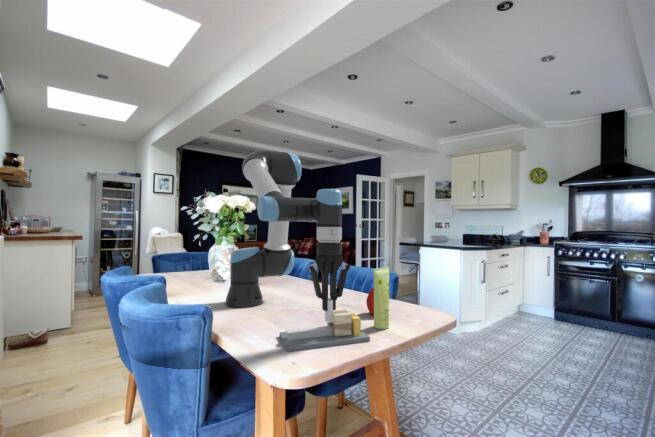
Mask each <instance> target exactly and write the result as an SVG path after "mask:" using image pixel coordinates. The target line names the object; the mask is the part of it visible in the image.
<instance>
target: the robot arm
mask: <svg viewBox="0 0 655 437" xmlns="http://www.w3.org/2000/svg"><path fill="white" fill-rule="evenodd" d="M241 165H242V167H241V170H242V174H243V175H244V177H245V179H246V180H247V181H249V182H250V183H251V186H252V188H253V189H254V191H255V194H256V196H257V197H258V200H257V207H256V208H257V211H256V212H257V216H258V219H259V220H260V221H263V222H268V229H267V230H268V232H267V242H266V243H264V244H263V250H262V249H260V247H258V246H253V247H252V246H251V247H250V246H249V247H243V248H238V249H235V250H232V252H231V253H230V259H229V260H230V261H229V263H230V271H229V272H230V278H229V279H230V281H229V282H230V284H229V289H228V292H227V294H226V297H225V306H227V307H230V308H240V309H241V308H251V307H255V306H256V307H257V306H260V305H262V304H263V302H264V301H263V299H264V298H263V294H262V291H261V287H260V284H259V283H260V282H259V279H260V278H268V277H269V278H270V277H282V276H287V275H289V274H291V272H292V271H293V269H294V264H295V253H294V251H293V249H291V245H289V243H288V238H289V225H290V222H296V223H297V222H300V223H301V222H304V223H305V222H306V223H307V222H308V223H316V240H317V242H316V256H315V259H314V262H313V263H312V264H308V265H307V269H308V271H309V272H310V275H311V276H310V277H311V279H312V285H313V287H314V292H315V296H316V298H318V299H320V300H321V309H322V310H323V312H325V313H324V316H325V317H324V322H326V323H333V310H335V309H337V306H336V305H337V300H338V298H341V297H343V293H344V289H345V284H346V279H347V274H348V271H349V270H350V268H351V265H350V264H348V263H346V262H345V261H344V259H343V256H342V254H343V251H342V250H343V247H342V246H343V243H342V242H341V241H342V240H343V235H342V234H343V228H342V226H343V200H342V199H343V198H342V197H343V196H342V191H341V190H340V189H336V188H322V189H318V190H317V192H316V197H315V198H309V197H305V198H304V197H292V189H293V188H294V187H296V183H297V182H299V181H301V176H302V163H301V160H300V158H299V157H298V155H297V154H295V153H291V152H282V151H275V150H273V151H272V150H266V149H265V150H264V149H260V150H259V149H258V150H255V151H252V152H250V153H249V154H248V155H247V156H246V157H245V158H244V159H243V162H242V164H241ZM318 269H319V270H320V272H321V273H320V274H321V285H320V280H319V275H318V272H317V270H318ZM339 269H340V270H339ZM338 271H340V272H339V275H338ZM337 276H338V281H337Z"/></svg>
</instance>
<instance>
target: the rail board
mask: <svg viewBox="0 0 655 437" xmlns="http://www.w3.org/2000/svg"><path fill="white" fill-rule="evenodd" d="M347 311H348V312H349V313H351V335H346V336H338V337H335V336H334V335H333V325H332V326H327V325H325V326H314V327H307V328H297V329H288V330H287V329H286V330H285V331H281V332H279V338H280V340H281V342H282V344H283V346H284V348H285V349H286V351H287V353H288V352H297V351H304V350H312V349H321V348H327V347H335V346H342V345H343V346H344V345H350V344H357V343H358V344H359V343H360V344H361V343H366V342H370V341H371V337H370V335H368V334H366V332H365V331H363V330H361V329H362V326H361V322H362V320H361V317H359V316H358V315H356V314H355V313H354V312H352V311H351V310H347Z"/></svg>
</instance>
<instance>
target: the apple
mask: <svg viewBox="0 0 655 437" xmlns="http://www.w3.org/2000/svg"><path fill="white" fill-rule="evenodd" d="M366 307H367V310H368V312H369V313H370V315H373V316H374V286H373V287H372V288H371V289H370V290H369V291H368V295H367V297H366Z"/></svg>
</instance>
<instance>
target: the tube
mask: <svg viewBox="0 0 655 437" xmlns="http://www.w3.org/2000/svg"><path fill="white" fill-rule="evenodd" d="M373 287H374V315H373V327H374V328H376V329H377V330H378V329H379V330H386V329H389V328H390V267H389V266H384V267H377V268H373Z"/></svg>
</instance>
